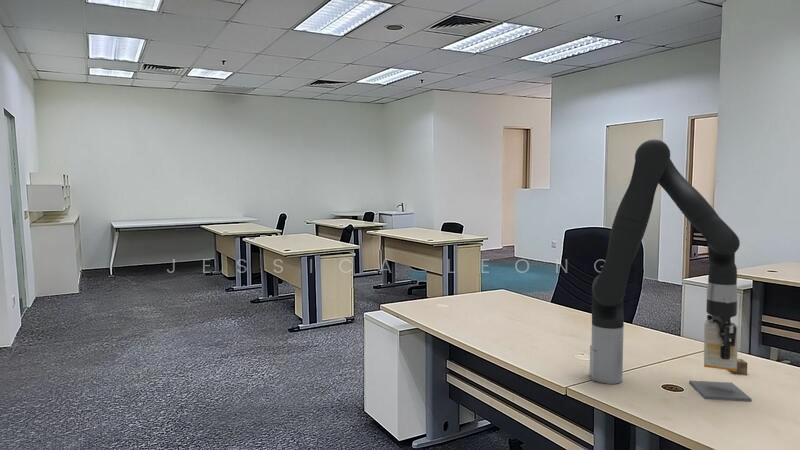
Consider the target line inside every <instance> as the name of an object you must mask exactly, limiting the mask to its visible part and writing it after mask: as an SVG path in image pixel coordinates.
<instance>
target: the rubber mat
mask: <svg viewBox="0 0 800 450" xmlns="http://www.w3.org/2000/svg"><path fill="white" fill-rule="evenodd" d="M688 384H689V385H690V386H692V388H694V390H695V391H696V392H697V393H698V394H699V395H700V396H701V397H702V398H703V399H704V400H717V401H718V400H720V401H721V400H722V401H736V402H737V401H739V402H752V398H751V397H750V396H749V395H748V394H746V392H744V391H743V390H741V388H739V387H738V386H737V385H736V384H735V383H733V382H727V381H726V382H725V381H724V382H723V381H707V380H706V381H703V380H688Z"/></svg>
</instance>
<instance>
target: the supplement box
mask: <svg viewBox="0 0 800 450" xmlns="http://www.w3.org/2000/svg"><path fill="white" fill-rule="evenodd" d="M731 326H736V338H735V346H731V347H730V359H722V358H721V357H720V354H721V342H720V338H718V335H717V327H716V325H715V323H713V322H711V321H708V320H705V321H704V334H703V337H704V344H703V345H704V346H703V353H704V354H703V367H704V368H710V369H718V370H726V371H728V370H731V371H737V359H738V335H739V334H738V333H739V332H738V330H739V327H738V323H737V322H731ZM721 334H722V335H724V333H721ZM723 339H724V338H723ZM731 340H732V339H731ZM727 342H728V341H727Z"/></svg>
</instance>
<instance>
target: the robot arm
mask: <svg viewBox="0 0 800 450" xmlns="http://www.w3.org/2000/svg"><path fill="white" fill-rule="evenodd" d="M634 160H635V161H634V166H633V170H632V175H631V178H630V182H629V184H628V187H627V189H626V191H625V193H624V195H623V196H622V198H621V200H620V203H619V206H618V208H617V210H616V213H615V216H614V219H613V222H612V225H611V229H610V234H609V239H608V245H607V251H606V258H605V260H604V264H603V265H602V268H601V270H600V273H599V274H598V275H597V276H596V277H595V278H594V279H593V282H592V285H591V286H592V288H591V345H589V376H590V378H591V380H592V381H593V382H597V383H602V384H608V385H609V384H612V385H613V384H620V383H622V382H623V376H624V374H623V373H624V372H623V371H624V368H623V365H624V329H625V328H624V325H625V323H624V322H625V317H624V297H625V295H626V289H627V285H628V280H629V275H630V271H631V267H632V264H633V262H634V260H635V257H636V255H637V254H638V251H639V249H640V246H641V243H642V241H643V238H644V235H645V232H646V230H647V227H648V224H649V220H650V216H651V213H652V209H653V204H654V200H655V194H656V191H657V187H658V186H659V185H660V186H661V188H662V189H663V190H664V191H665V193H667V195H668V196H669V197H670V199H671V200H672V201H673V203H674V204H675V205H676V207H677V208H678V209H679V210H680V212H681V213H682V214H683V216H684V217H685V218H686V219H687V221H688V222H689V223H690V224H691V225H692V226H693V227H694V228H695V229H696V231H699V233H700V234H701V235H702V236H703V238H704V239H705V240H706V242H707V252H708V253H707V255H708V279H707V280H708V281H707V287H706V308H705V309H706V311H705V312H706V313H707V316H706V319H707V320H708V321H711V322H713V323H715V325H716V327H717V335H718V338H720V342H721V354H720V357H721V358H722V359H730V347H731V346H735V338H736V326H731V323H732V321H731V318H734V317H736V316H737V315H738V284H737V283H738V281H737V280H738V269H737V265H736V263H735V262H736V261H735V259H736V252H737V251H738V250H739V249H740V243H741V242H740V238H739V237H738V235H737V234H736V232H734V230H733V229H732V228H731V227H730V226H729V225H728V224H727V223H726V222H725V221H724V220H723V219H722V218H721V217H720V216H719V214H718V213H717V211H716V210H715V209H714V208H713V206H712V205H711V204H710V203H709V202H708V201H707V199H706V198H705V197H704V196H703V195H702V194H701V193H700V192H699V191H698V190H697V189H696V188H695V187H694V186H693V185H692V184H690V182H689V181H688V180H687V179H686V178H685V177H684V176H683V175H682V174H681V173H680V172H679V170H678V169H677V167H676V166H675V164H674V163H673V161H672V159H671V150H670V148H669V146H668V145H667V144H666V143H665V142H664V141H663V140H660V139H657V138H655V139H649V140H646V141H644V142H643V143H641V144H640V145H639V146H638V148H637V149H636V151H635V154H634ZM721 333H724V335H722V334H721ZM723 338H724V339H723ZM731 339H732V340H731ZM727 341H728V342H727Z"/></svg>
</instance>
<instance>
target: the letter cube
mask: <svg viewBox="0 0 800 450" xmlns="http://www.w3.org/2000/svg"><path fill="white" fill-rule="evenodd" d="M727 371H728V372H730V373H731V374H732V375H736V374H737V375H739V376H748V362H747V361H745V360H744V359H742V358H737V371H731V370H727Z"/></svg>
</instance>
